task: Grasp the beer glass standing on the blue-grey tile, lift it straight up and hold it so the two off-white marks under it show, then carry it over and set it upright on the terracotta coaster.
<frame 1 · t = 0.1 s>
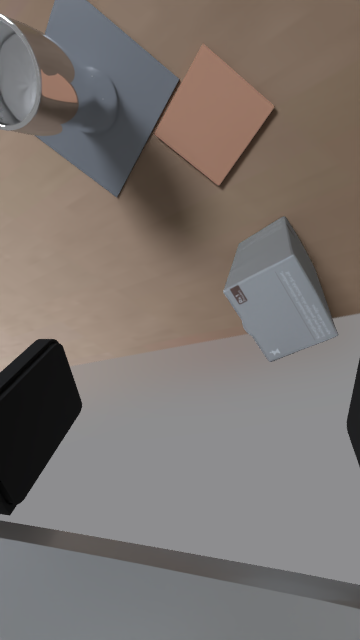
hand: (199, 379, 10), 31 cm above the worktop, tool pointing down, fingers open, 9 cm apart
blue-grey tile: (93, 102, 34), on the worktop
skincare box: (272, 256, 38), on the worktop
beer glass: (93, 102, 34), resting on blue-grey tile
coaster: (212, 121, 33), on the worktop
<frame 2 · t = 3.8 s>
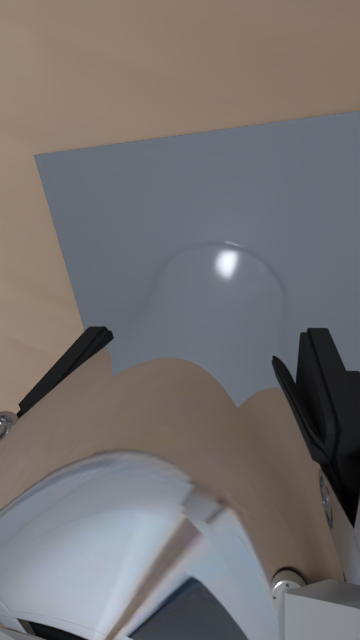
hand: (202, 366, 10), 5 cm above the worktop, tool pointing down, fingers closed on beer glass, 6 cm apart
blue-grey tile: (215, 306, 14), on the worktop
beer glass: (215, 306, 14), resting on blue-grey tile, touching gripper
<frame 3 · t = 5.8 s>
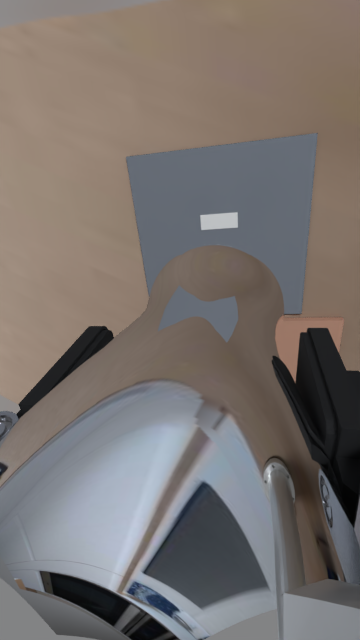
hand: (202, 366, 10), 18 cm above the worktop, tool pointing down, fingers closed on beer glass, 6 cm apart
blue-grey tile: (220, 240, 26), on the worktop
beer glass: (215, 306, 14), point 13 cm above the worktop, touching gripper
coaster: (286, 358, 30), on the worktop
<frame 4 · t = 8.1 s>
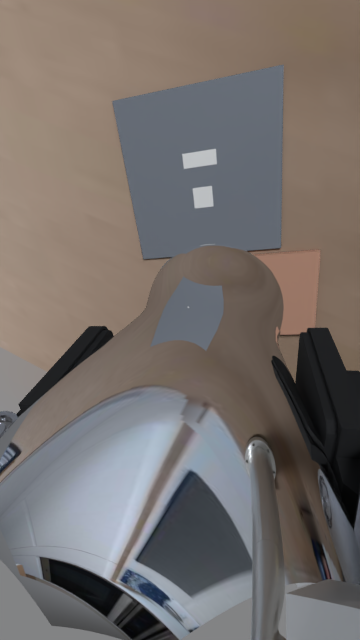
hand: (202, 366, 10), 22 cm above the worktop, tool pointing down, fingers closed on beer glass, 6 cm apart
blue-grey tile: (201, 178, 28), on the worktop
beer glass: (214, 306, 14), point 18 cm above the worktop, touching gripper
coaster: (270, 295, 32), on the worktop
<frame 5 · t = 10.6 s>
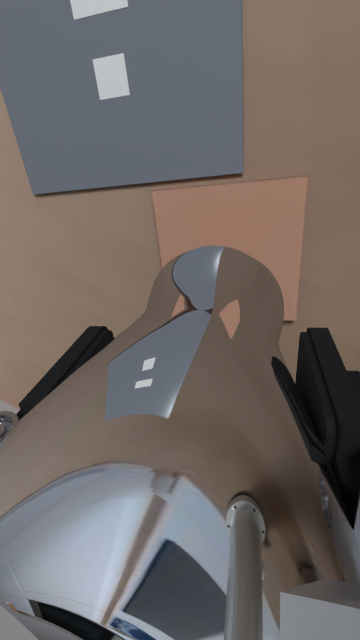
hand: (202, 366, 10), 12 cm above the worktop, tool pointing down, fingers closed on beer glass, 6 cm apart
blue-grey tile: (106, 40, 16), on the worktop
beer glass: (215, 307, 14), point 7 cm above the worktop, touching gripper
coaster: (228, 256, 20), on the worktop
when the fingers open (6 cm above the worktop, at t = 12.6 s): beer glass drops 1 cm, resting on coaster.
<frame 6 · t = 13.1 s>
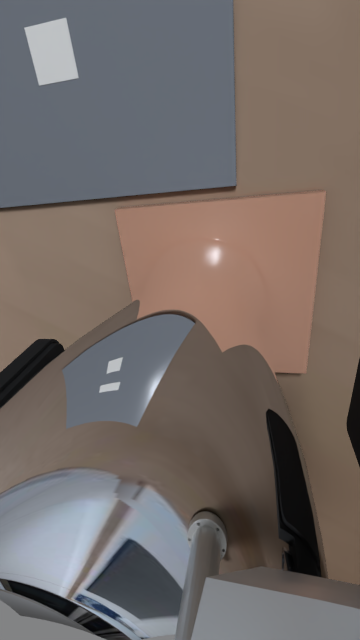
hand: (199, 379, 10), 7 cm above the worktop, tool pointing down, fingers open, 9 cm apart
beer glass: (204, 297, 16), resting on coaster
coaster: (218, 292, 16), on the worktop
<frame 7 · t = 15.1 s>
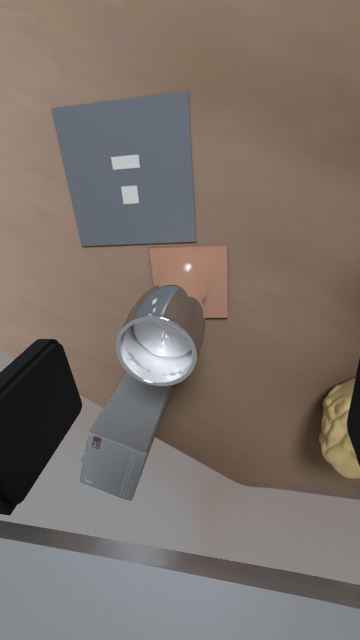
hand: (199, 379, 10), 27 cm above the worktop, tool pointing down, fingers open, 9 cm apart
blue-grey tile: (128, 178, 33), on the worktop
sculpture: (358, 397, 42), on the worktop
skincare box: (150, 377, 46), on the worktop
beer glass: (183, 284, 37), resting on coaster
coaster: (190, 282, 37), on the worktop
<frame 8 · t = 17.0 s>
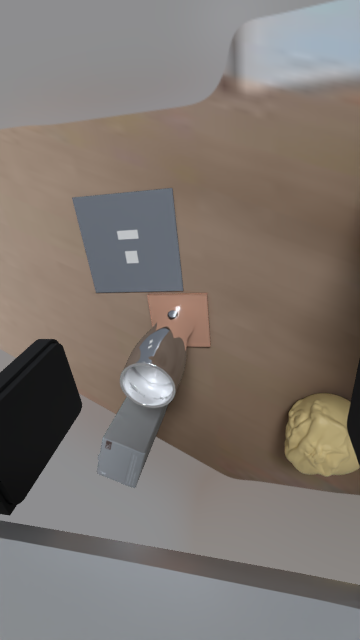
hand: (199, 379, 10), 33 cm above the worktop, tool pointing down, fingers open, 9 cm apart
blue-grey tile: (130, 245, 43), on the worktop
sculpture: (319, 408, 51), on the worktop
skincare box: (152, 390, 57), on the worktop
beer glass: (175, 321, 48), resting on coaster
coaster: (180, 320, 48), on the worktop
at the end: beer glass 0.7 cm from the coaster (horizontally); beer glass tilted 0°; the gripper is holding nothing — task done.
